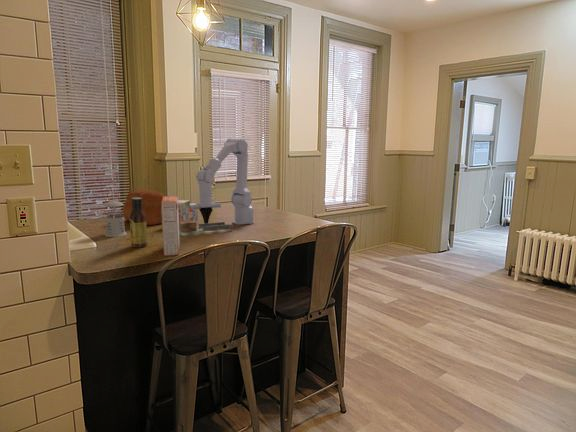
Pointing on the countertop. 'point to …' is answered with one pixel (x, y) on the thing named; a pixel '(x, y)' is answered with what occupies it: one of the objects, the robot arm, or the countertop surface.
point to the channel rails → (214, 226)
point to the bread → (145, 205)
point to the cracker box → (170, 225)
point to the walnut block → (187, 226)
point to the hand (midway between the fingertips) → (206, 223)
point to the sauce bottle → (138, 224)
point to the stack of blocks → (186, 211)
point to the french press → (114, 220)
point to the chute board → (203, 232)
